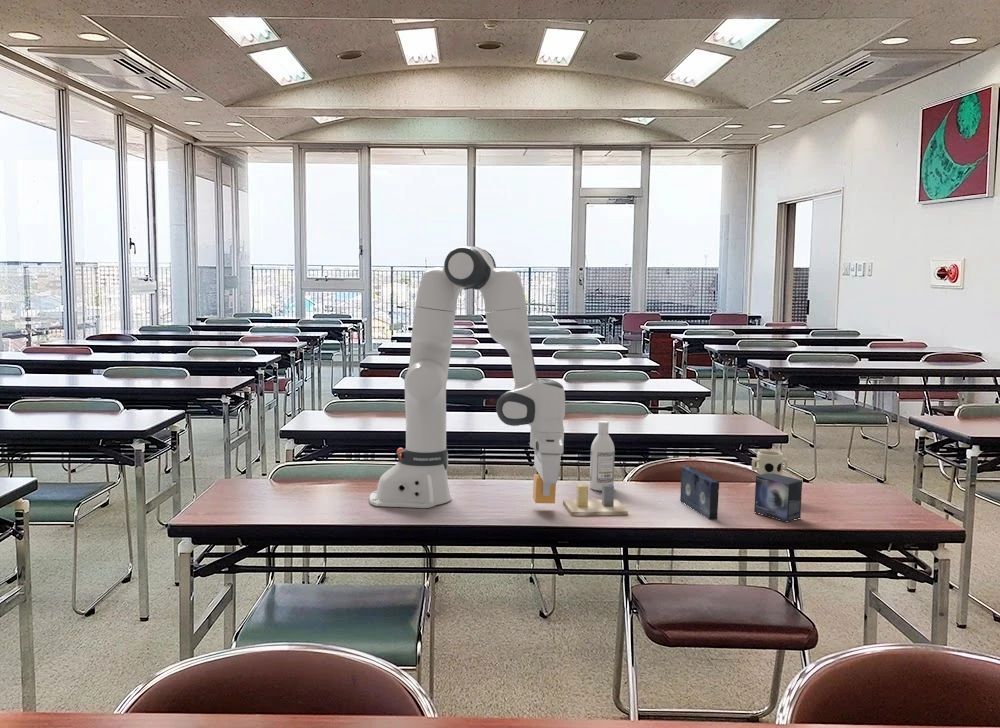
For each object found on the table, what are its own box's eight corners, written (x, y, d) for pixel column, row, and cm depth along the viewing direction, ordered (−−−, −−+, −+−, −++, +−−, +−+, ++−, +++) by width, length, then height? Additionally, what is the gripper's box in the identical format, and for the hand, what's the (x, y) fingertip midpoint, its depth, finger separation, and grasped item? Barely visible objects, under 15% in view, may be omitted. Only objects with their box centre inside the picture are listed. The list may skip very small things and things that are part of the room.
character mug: (755, 501, 240) (757, 455, 238) (744, 494, 247) (746, 450, 245) (792, 500, 241) (794, 455, 240) (780, 493, 248) (782, 449, 247)
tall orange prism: (535, 503, 223) (536, 478, 222) (532, 497, 228) (533, 473, 228) (554, 503, 224) (556, 478, 223) (551, 498, 229) (553, 474, 228)
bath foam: (618, 489, 250) (620, 422, 248) (601, 492, 246) (604, 424, 244) (601, 484, 255) (603, 418, 253) (584, 487, 251) (586, 421, 249)
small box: (752, 513, 227) (754, 474, 226) (767, 509, 231) (769, 471, 230) (786, 523, 218) (788, 483, 217) (801, 519, 222) (803, 479, 221)
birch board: (571, 515, 221) (571, 511, 221) (563, 503, 233) (563, 499, 233) (627, 514, 223) (627, 511, 223) (616, 502, 235) (616, 499, 235)
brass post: (578, 507, 226) (578, 486, 226) (576, 504, 229) (576, 484, 228) (587, 506, 226) (588, 486, 226) (585, 504, 229) (586, 484, 228)
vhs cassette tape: (718, 519, 221) (719, 482, 220) (707, 520, 220) (708, 482, 219) (689, 501, 238) (690, 466, 237) (679, 501, 238) (680, 466, 237)
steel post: (603, 506, 227) (604, 486, 226) (601, 504, 230) (602, 484, 229) (613, 506, 227) (614, 486, 227) (611, 503, 230) (611, 484, 229)
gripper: (530, 433, 234) (527, 482, 236) (540, 448, 214) (537, 501, 215) (552, 433, 235) (550, 482, 236) (564, 448, 215) (562, 502, 216)
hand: (544, 492), depth 226 cm, fingers closed on tall orange prism, 5 cm apart
